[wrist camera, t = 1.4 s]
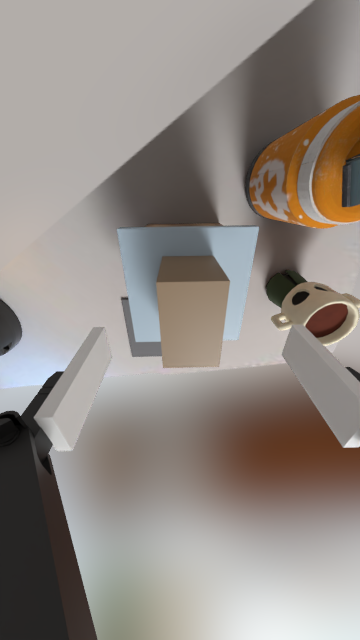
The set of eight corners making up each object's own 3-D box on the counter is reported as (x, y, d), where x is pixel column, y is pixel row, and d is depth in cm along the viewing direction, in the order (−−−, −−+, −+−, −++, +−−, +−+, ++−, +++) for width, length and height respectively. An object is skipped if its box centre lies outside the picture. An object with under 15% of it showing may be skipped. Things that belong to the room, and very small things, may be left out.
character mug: (313, 256, 33) (382, 285, 22) (314, 292, 36) (374, 333, 25) (248, 279, 35) (282, 316, 24) (255, 311, 38) (287, 356, 27)
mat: (132, 355, 44) (132, 356, 44) (122, 299, 36) (121, 299, 36) (199, 354, 44) (199, 355, 44) (202, 297, 37) (202, 298, 36)
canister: (237, 159, 26) (352, 85, 9) (325, 115, 24) (691, -89, 7) (250, 227, 30) (345, 264, 13) (326, 195, 28) (551, 190, 11)
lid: (138, 331, 27) (122, 387, 19) (122, 226, 20) (86, 244, 12) (233, 329, 27) (258, 384, 19) (250, 223, 20) (300, 240, 12)
